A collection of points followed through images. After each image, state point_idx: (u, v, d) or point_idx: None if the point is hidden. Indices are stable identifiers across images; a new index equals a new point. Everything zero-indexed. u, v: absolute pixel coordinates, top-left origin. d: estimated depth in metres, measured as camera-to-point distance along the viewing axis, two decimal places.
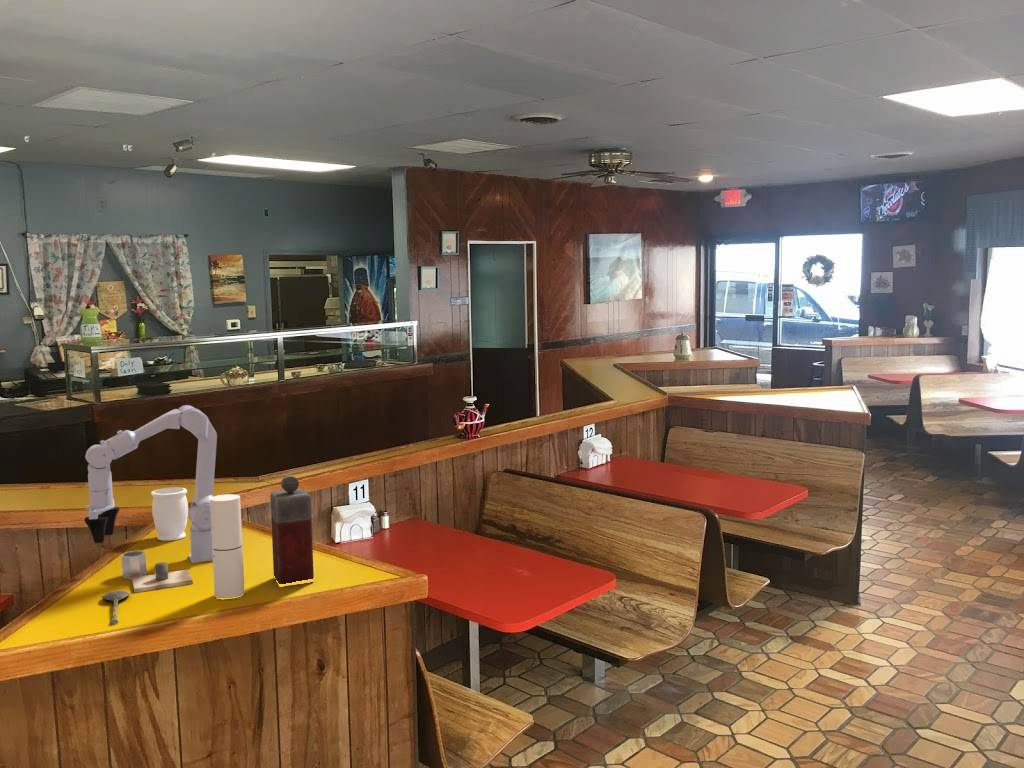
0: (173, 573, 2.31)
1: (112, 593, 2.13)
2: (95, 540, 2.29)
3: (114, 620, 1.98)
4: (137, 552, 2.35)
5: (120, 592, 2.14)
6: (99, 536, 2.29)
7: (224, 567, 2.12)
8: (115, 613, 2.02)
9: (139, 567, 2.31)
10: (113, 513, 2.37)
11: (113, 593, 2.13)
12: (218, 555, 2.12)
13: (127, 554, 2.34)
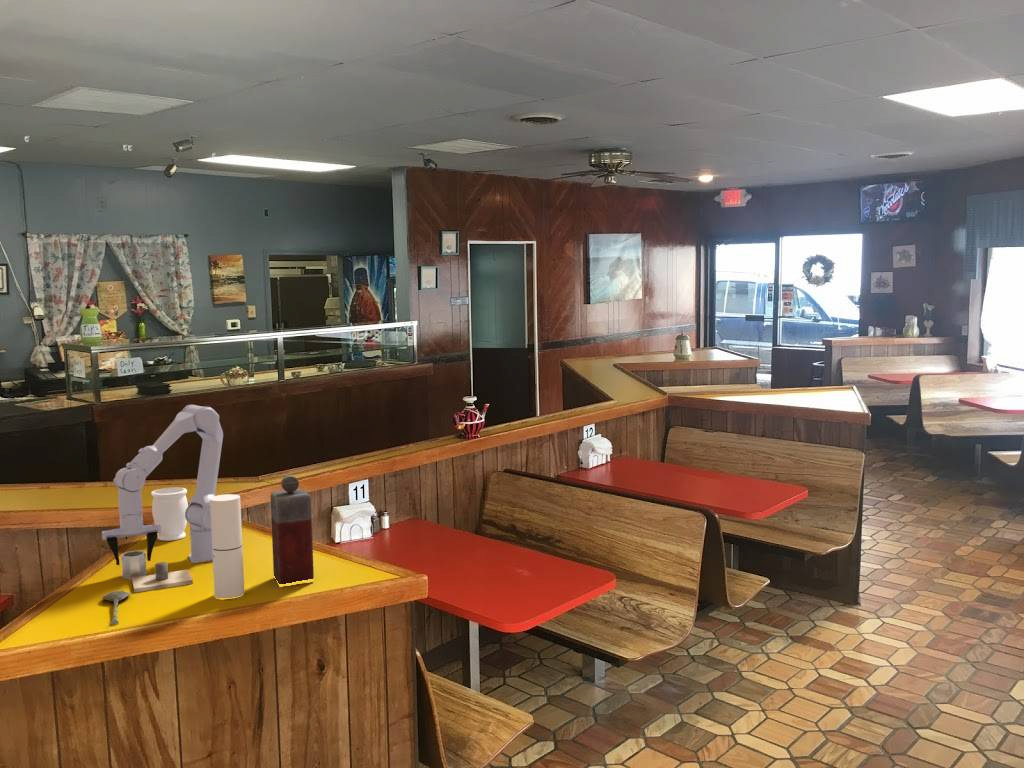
0: (173, 573, 2.31)
1: (112, 593, 2.13)
2: None
3: (114, 620, 1.98)
4: (137, 552, 2.35)
5: (120, 592, 2.13)
6: None
7: (224, 566, 2.12)
8: (115, 613, 2.02)
9: (139, 567, 2.31)
10: (147, 540, 2.32)
11: (113, 593, 2.13)
12: (218, 555, 2.12)
13: (127, 554, 2.34)
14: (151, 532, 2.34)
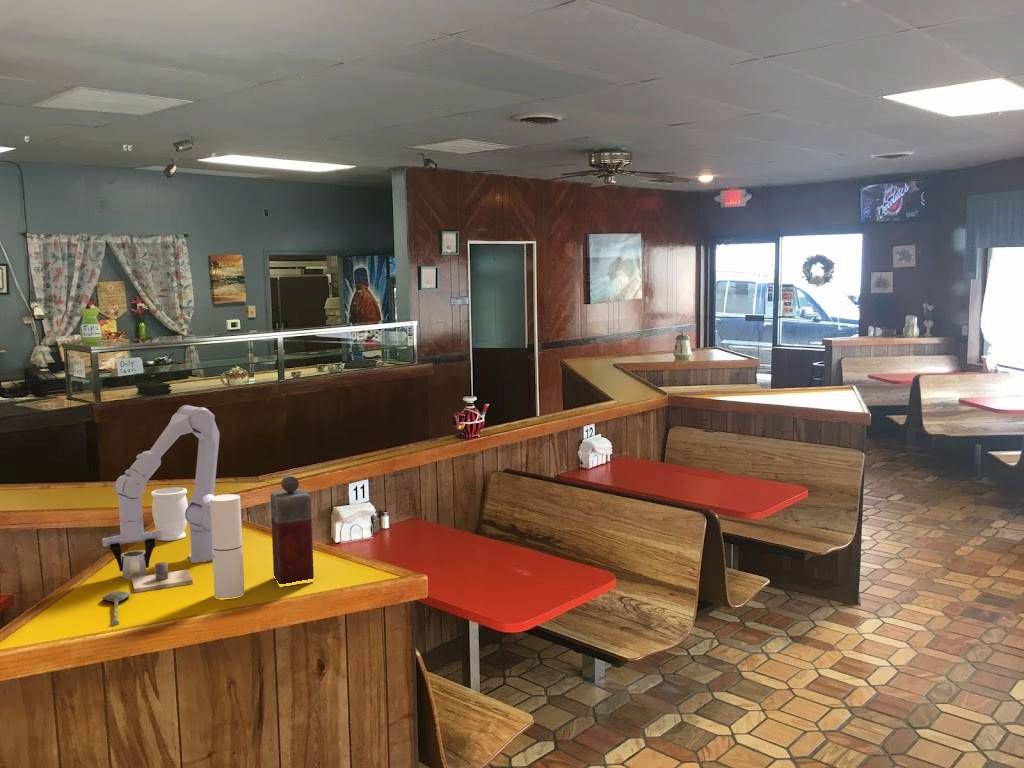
0: (173, 573, 2.31)
1: (112, 594, 2.12)
2: None
3: (115, 621, 1.98)
4: (137, 552, 2.35)
5: (120, 593, 2.13)
6: None
7: (224, 566, 2.12)
8: (116, 614, 2.01)
9: (139, 567, 2.31)
10: (145, 546, 2.32)
11: (113, 594, 2.12)
12: (218, 555, 2.12)
13: (127, 554, 2.34)
14: (149, 539, 2.34)
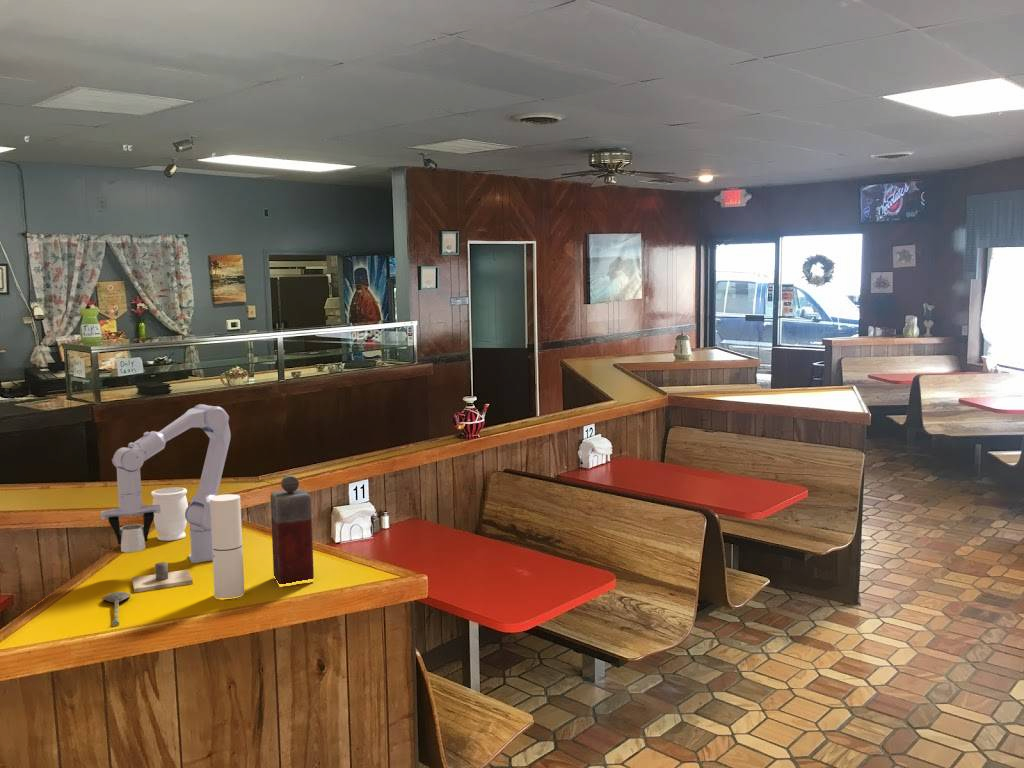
0: (173, 573, 2.31)
1: (113, 594, 2.12)
2: None
3: (115, 621, 1.97)
4: (136, 526, 2.34)
5: (121, 593, 2.13)
6: (117, 537, 2.30)
7: (224, 567, 2.12)
8: (116, 614, 2.01)
9: (138, 540, 2.30)
10: (144, 520, 2.32)
11: (114, 594, 2.12)
12: (218, 555, 2.12)
13: (125, 528, 2.33)
14: (148, 512, 2.33)
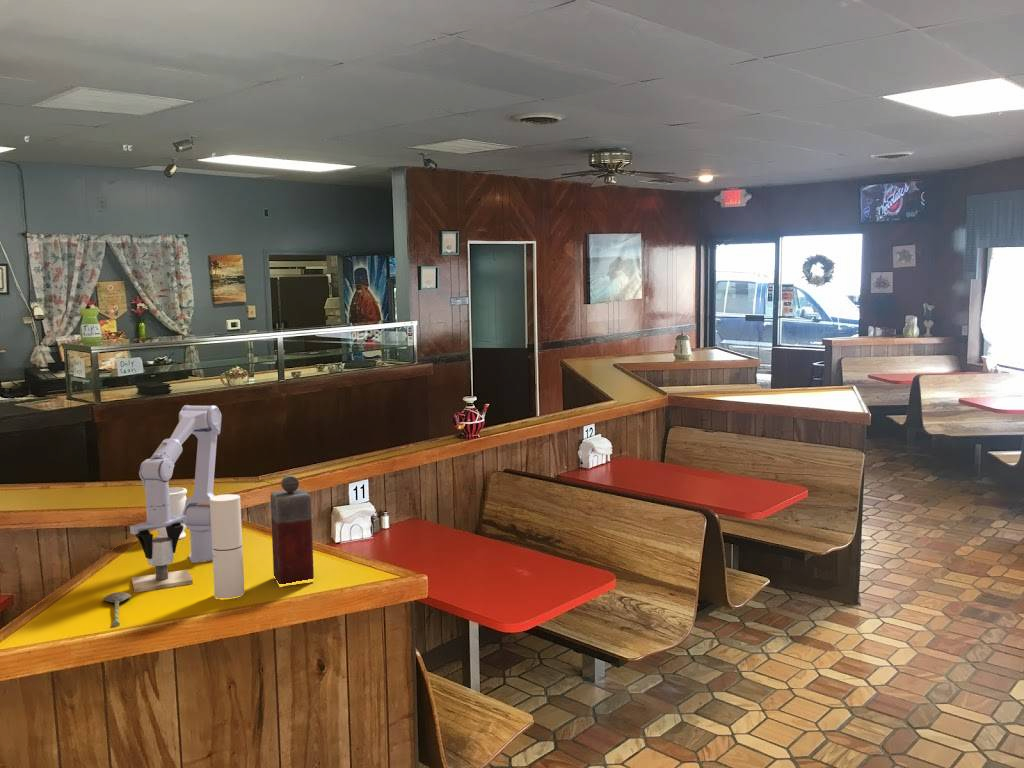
0: (173, 573, 2.31)
1: (113, 595, 2.12)
2: (145, 555, 2.24)
3: (115, 622, 1.97)
4: (159, 539, 2.28)
5: (121, 594, 2.12)
6: (147, 551, 2.23)
7: (224, 567, 2.12)
8: (116, 615, 2.01)
9: (170, 552, 2.25)
10: (173, 531, 2.27)
11: (114, 595, 2.12)
12: (218, 555, 2.12)
13: None
14: (175, 523, 2.28)
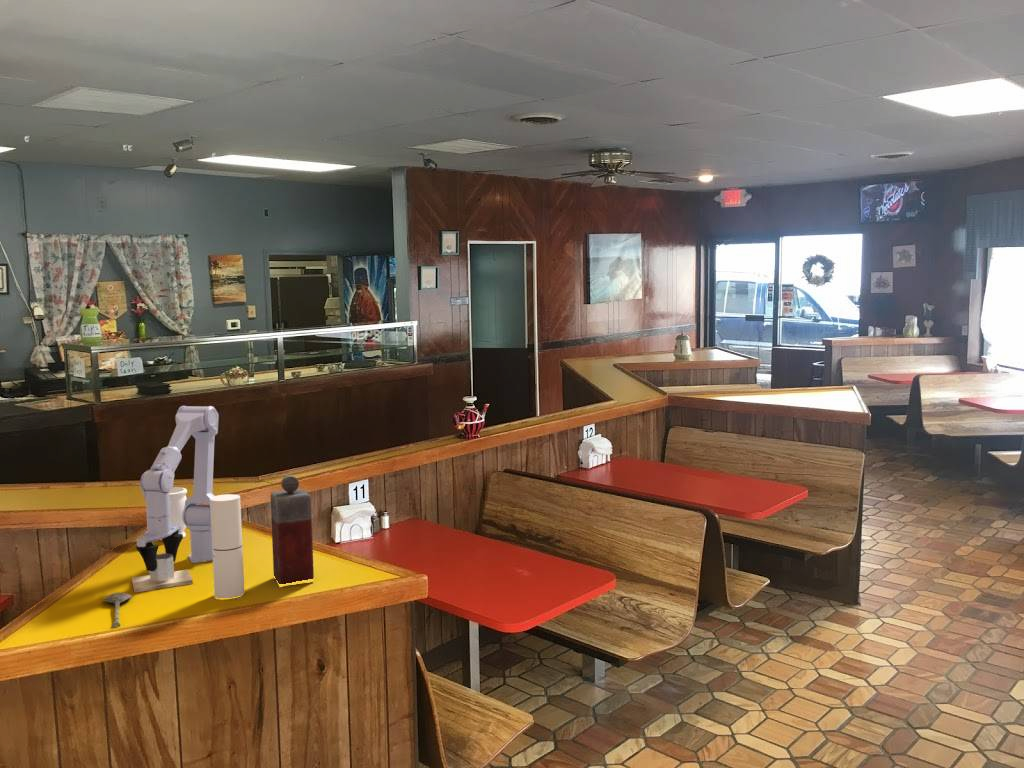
0: None
1: (113, 595, 2.11)
2: (147, 567, 2.23)
3: (116, 623, 1.96)
4: (157, 556, 2.28)
5: (121, 594, 2.12)
6: (150, 564, 2.22)
7: (224, 567, 2.12)
8: (117, 616, 2.00)
9: (173, 567, 2.27)
10: (174, 540, 2.29)
11: (114, 595, 2.11)
12: (218, 555, 2.12)
13: None
14: (173, 533, 2.30)
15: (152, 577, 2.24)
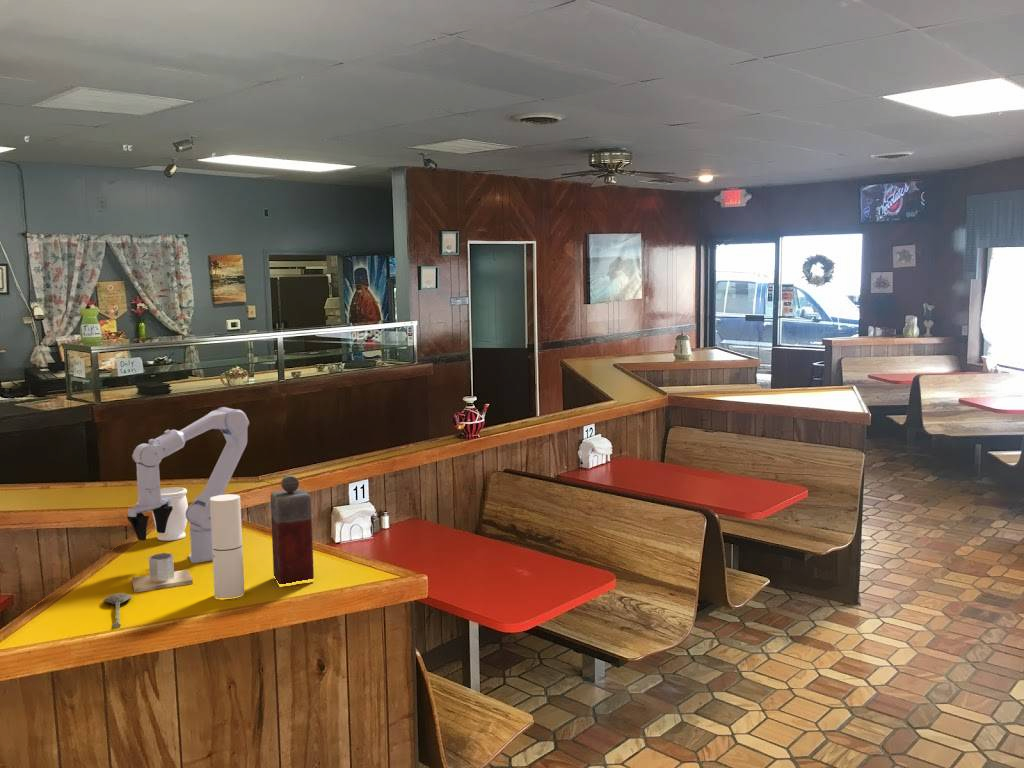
0: None
1: (114, 596, 2.11)
2: (138, 537, 2.33)
3: (116, 623, 1.96)
4: (157, 556, 2.28)
5: (122, 595, 2.12)
6: (140, 533, 2.33)
7: (224, 566, 2.12)
8: (117, 616, 2.00)
9: (173, 567, 2.27)
10: (164, 512, 2.40)
11: (115, 596, 2.11)
12: (218, 555, 2.12)
13: (151, 559, 2.26)
14: (163, 504, 2.41)
15: (152, 577, 2.24)
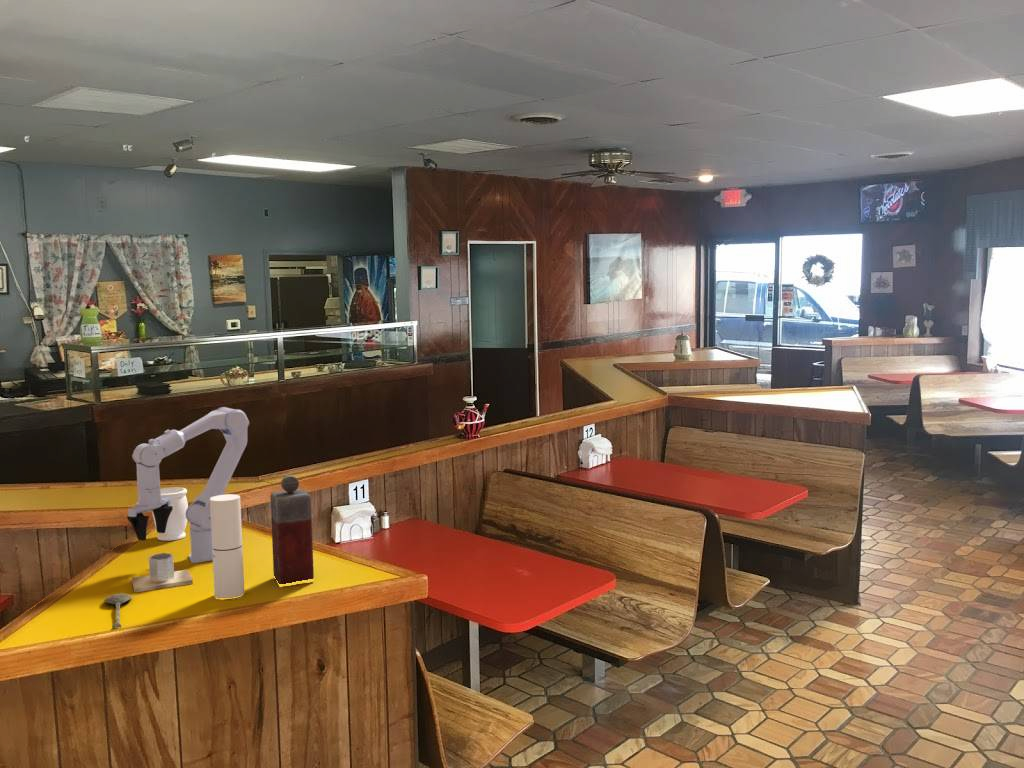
0: None
1: (114, 596, 2.10)
2: (138, 537, 2.33)
3: (117, 624, 1.96)
4: (157, 556, 2.28)
5: (122, 595, 2.11)
6: (140, 533, 2.33)
7: (224, 566, 2.12)
8: (118, 617, 2.00)
9: (173, 567, 2.27)
10: (164, 512, 2.40)
11: (115, 596, 2.10)
12: (218, 555, 2.12)
13: (151, 559, 2.26)
14: (163, 504, 2.41)
15: (152, 577, 2.24)
